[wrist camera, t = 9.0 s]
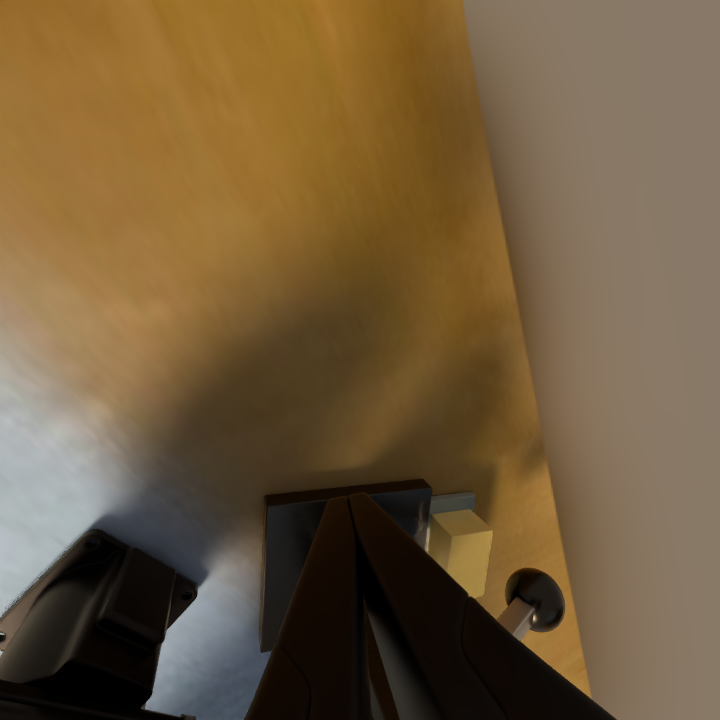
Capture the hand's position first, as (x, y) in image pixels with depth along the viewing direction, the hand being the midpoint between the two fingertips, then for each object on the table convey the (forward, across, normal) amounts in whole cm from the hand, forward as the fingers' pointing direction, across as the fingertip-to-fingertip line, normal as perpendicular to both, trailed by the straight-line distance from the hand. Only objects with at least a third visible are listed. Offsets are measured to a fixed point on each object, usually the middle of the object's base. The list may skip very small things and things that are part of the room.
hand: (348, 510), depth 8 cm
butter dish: (+12, -7, +14) cm, 20 cm away
